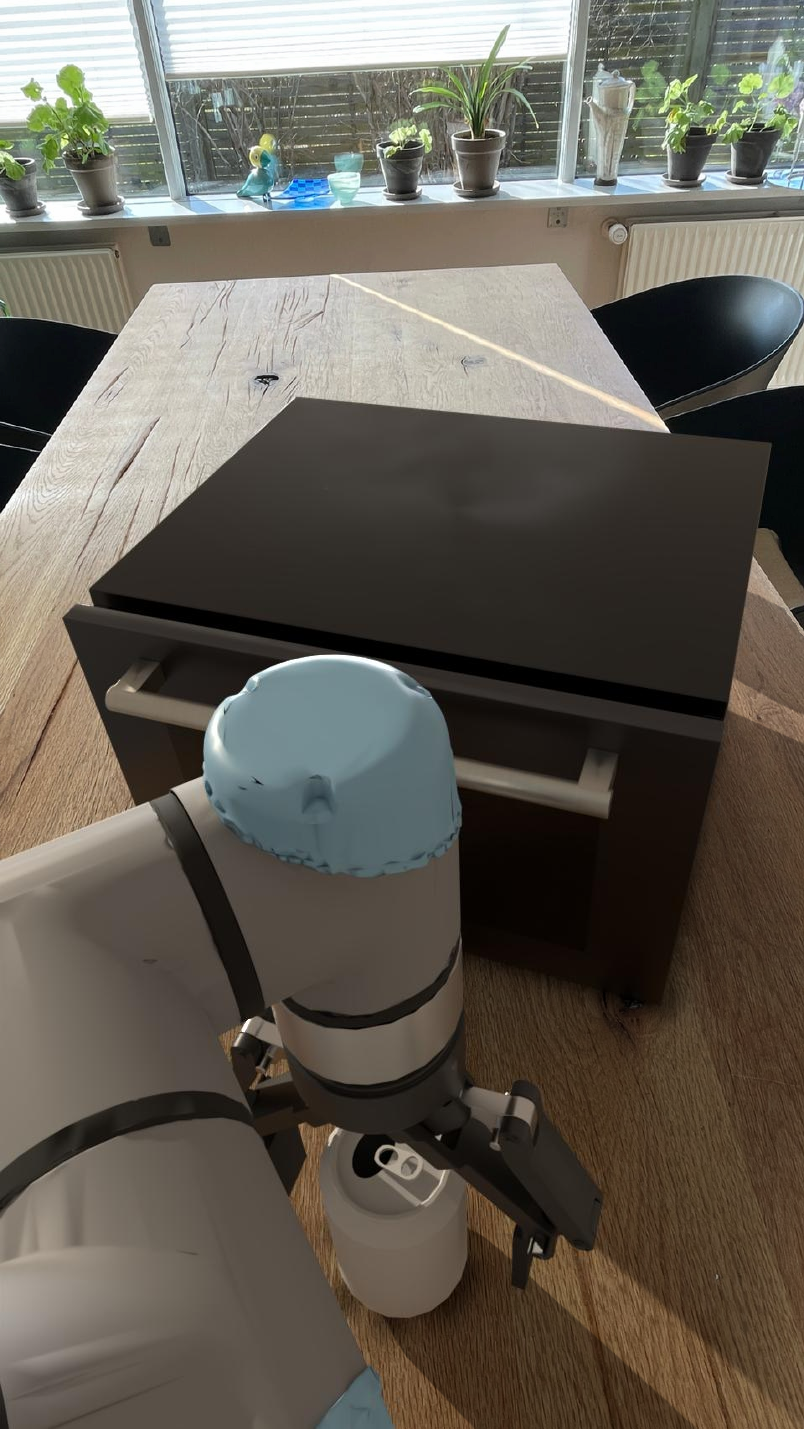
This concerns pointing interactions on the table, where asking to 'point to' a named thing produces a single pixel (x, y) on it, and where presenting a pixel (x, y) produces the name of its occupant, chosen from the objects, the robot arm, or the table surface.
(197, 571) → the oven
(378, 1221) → the can
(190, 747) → the oven door
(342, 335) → the table surface
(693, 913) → the table surface
